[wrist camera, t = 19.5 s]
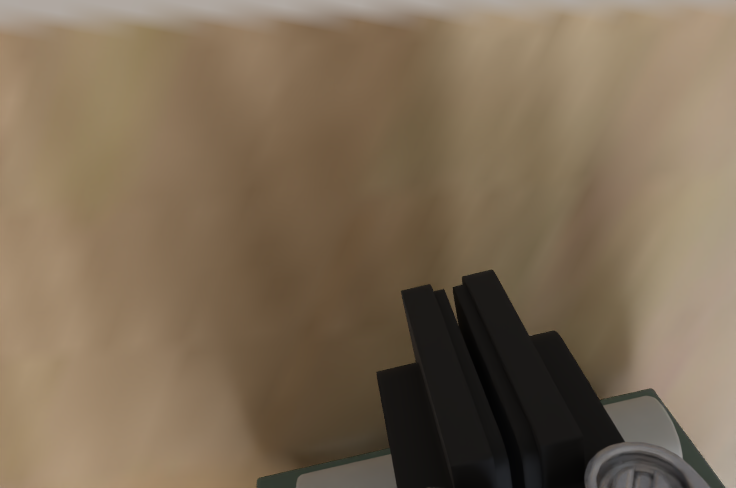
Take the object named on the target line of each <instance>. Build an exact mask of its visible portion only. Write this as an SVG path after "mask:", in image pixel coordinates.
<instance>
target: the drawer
mask: <svg viewBox="0 0 736 488" xmlns="http://www.w3.org/2000/svg"><path fill="white" fill-rule="evenodd" d="M600 401H601V403H602V405H603V406H604V408H605V410H606V411H607V413H608V415H609V416H610V418H611V419H612V421H613V423H614V424H615V426H616V428H617V429H618V431H619V432H620V434H621V436H622V437H623V439H624V441H625V442H645V443H649V444H653V445H657V446H661V447H663V448H665V449H667V450H669V451H671V452H673V453H675V454H677V455H678V456H680V457H681V458H682V459H683V460H684V461H686V462H687V463H688V464H689V465H690V466H691V467H692V468H693V469H694V470H695V471H696V472H697V473H698V474H699V475H700V476H701V477H702V478H703V479H704V481H705V482H706V483H707V484H708V485H709V486H710V487H711V488H725V486H724V485H723V484H722V482H721V481H720V480H719V478H718V477H717V476H716V474H715V473H714V471H713V470H712V469H711V467H710V466H709V465H708V463H707V462H706V461H705V459H704V458H703V456H702V455H701V454H700V452H699V451H698V450H697V448H696V447H695V446H694V444H693V443H692V442H691V440H690V439H689V437H688V436H687V435H686V433H685V432H684V431H683V429H682V428H681V427H680V425H679V424H678V422H677V421H676V420H675V418H674V417H673V416H672V414H671V413H670V412H669V410H668V409H667V407H666V406H665V405H664V403H663V402H662V401H661V399H660V398H659V397H658V395H657V394H656V393H655V391H654V390H653V389H646V390H641V391H637V392H633V393H628V394H624V395H619V396H615V397H611V398H606V399H602V400H600ZM257 488H397V485H396V479H395V474H394V468H393V463H392V457H391V452H390V448H388V449H383V450H379V451H375V452H370V453H366V454H362V455H357V456H353V457H348V458H344V459H340V460H335V461H331V462H327V463H322V464H318V465H313V466H309V467H305V468H300V469H296V470H292V471H287V472H283V473H278V474H274V475H270V476H265V477H261V478H258V480H257Z"/></svg>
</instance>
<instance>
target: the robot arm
mask: <svg viewBox="0 0 736 488" xmlns="http://www.w3.org/2000/svg"><path fill="white" fill-rule="evenodd" d="M462 284H463V285H459V286H455V287H453V295H454V301H455V307H456V313H457V319H458V323H457V321H456V318H455V316H454V313H453V310H452V308H451V305H450V303H449V300H448V298H447V295H446V293H445V290H444V289H442V290H438V291H434V292H433V289H432V286H431V285H430V284H428V285H424V286H420V287H415V288H411V289H407V290H402V291H401V294H402V299H403V304H404V308H405V313H406V317H407V322H408V327H409V331H410V336H411V341H412V345H413V350H414V355H415V359H416V363H412V364H408V365H404V366H399V367H395V368H391V369H386V370H382V371H378V372H377V380H378V385H379V391H380V396H381V402H382V407H383V413H384V419H385V424H386V430H387V435H388V441H389V446H390V452H391V457H392V463H393V468H394V474H395V479H396V485H397V488H711V487H710V486H709V485H708V484H707V483H706V482H705V481H704V479H703V478H702V477H701V476H700V475H699V474H698V473H697V472H696V471H695V470H694V469H693V468H692V467H691V466H690V465H689V464H688V463H687V462H686V461H684V460H683V459H682V458H681V457H680V456H678V455H677V454H675V453H673V452H671V451H669V450H667V449H665V448H663V447H661V446H657V445H653V444H649V443H645V442H625V441H624V439H623V437H622V436H621V434H620V432H619V431H618V429H617V428H616V426H615V424H614V423H613V421H612V419H611V418H610V416H609V415H608V413H607V411H606V410H605V408H604V406H603V405H602V403H601V401H600V400H599V398H598V397H597V395H596V393H595V392H594V390H593V388H592V387H591V385H590V383H589V382H588V380H587V379H586V377H585V375H584V374H583V372H582V370H581V369H580V367H579V366H578V364H577V362H576V361H575V359H574V357H573V356H572V354H571V352H570V351H569V349H568V348H567V346H566V344H565V343H564V341H563V339H562V338H561V337H560V335H559V334H558V333H557V332H556V331H550V332H546V333H541V334H537V335H533V336H529V335H528V333H527V331H526V329H525V327H524V326H523V324H522V322H521V320H520V318H519V316H518V314H517V313H516V311H515V309H514V307H513V305H512V303H511V302H510V300H509V298H508V296H507V294H506V292H505V290H504V289H503V287H502V285H501V283H500V281H499V279H498V278H497V276H496V274H495V272H494V271H493V270H488V271H484V272H480V273H475V274H471V275H467V276H463V277H462ZM458 325H459V326H458Z"/></svg>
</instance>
